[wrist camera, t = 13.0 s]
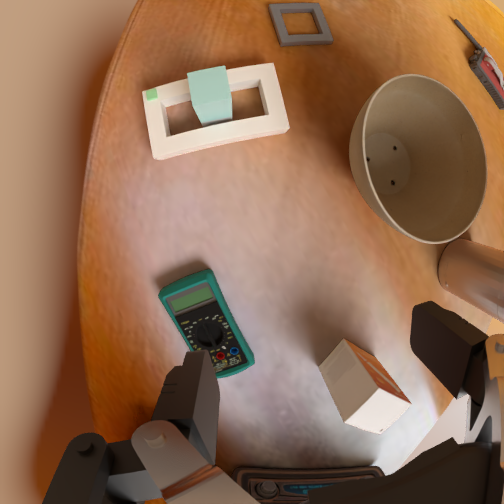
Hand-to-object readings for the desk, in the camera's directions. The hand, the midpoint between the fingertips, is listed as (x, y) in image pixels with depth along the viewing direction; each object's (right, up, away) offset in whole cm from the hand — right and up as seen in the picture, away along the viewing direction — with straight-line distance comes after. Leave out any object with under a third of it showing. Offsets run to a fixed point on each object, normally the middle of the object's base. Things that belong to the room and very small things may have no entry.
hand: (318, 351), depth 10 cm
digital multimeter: (-8, -6, +29) cm, 31 cm away
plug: (-7, +21, +23) cm, 31 cm away
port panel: (-7, +21, +23) cm, 31 cm away
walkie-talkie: (+42, +40, +22) cm, 62 cm away
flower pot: (+16, +16, +25) cm, 34 cm away
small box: (+13, -14, +32) cm, 37 cm away
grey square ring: (+4, +35, +20) cm, 41 cm away
